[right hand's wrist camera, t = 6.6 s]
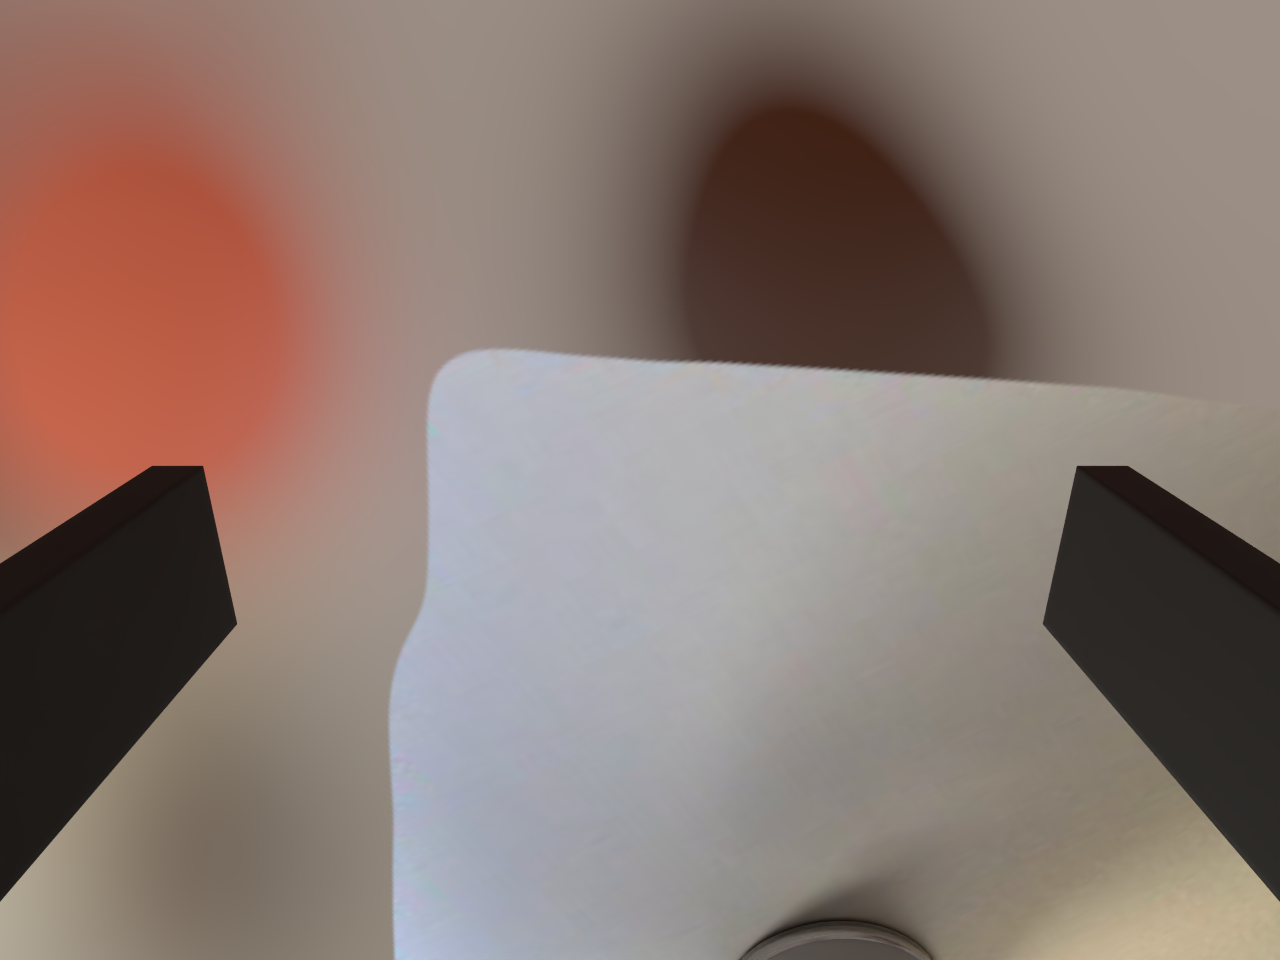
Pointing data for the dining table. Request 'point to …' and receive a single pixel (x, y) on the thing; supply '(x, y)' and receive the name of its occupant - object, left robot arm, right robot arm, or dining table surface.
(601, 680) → the dining table surface
